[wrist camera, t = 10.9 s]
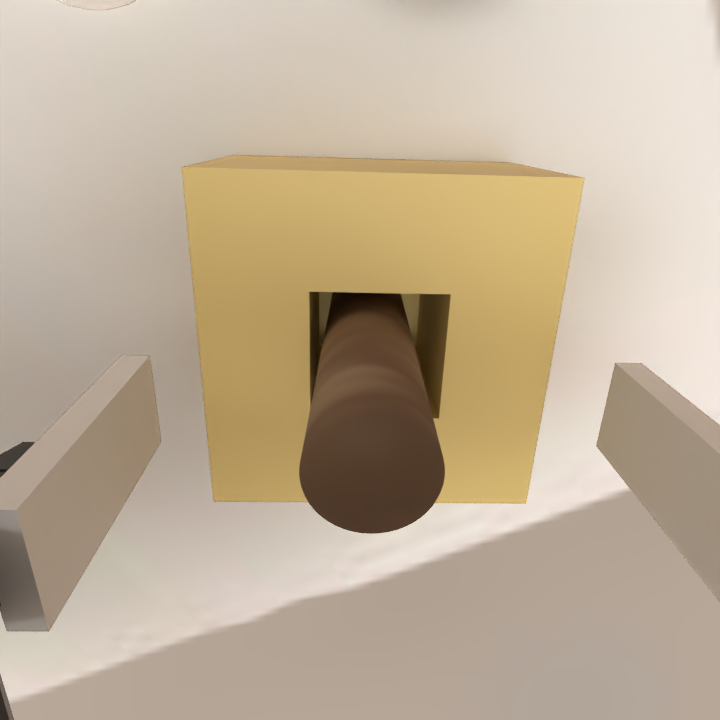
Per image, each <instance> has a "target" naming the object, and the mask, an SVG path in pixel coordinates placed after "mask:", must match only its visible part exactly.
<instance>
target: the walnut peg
mask: <svg viewBox="0 0 720 720" xmlns="http://www.w3.org/2000/svg"><path fill="white" fill-rule="evenodd" d="M299 478H300V484H301V488H302V490H303V493H304V495H305V497H306V499H307V501H308V502H309V504H310V505H311V506H312V507H313V509H314V510H315V511H316V512H317V513H318V514H319V515H320V516H322V517H323V518H324V519H326V520H327V521H329V522H330V523H332V524H334V525H336V526H338V527H341V528H343V529H346V530H350V531H354V532H359V533H384V532H390V531H393V530H397V529H400V528H403V527H405V526H407V525H409V524H411V523H413V522H415V521H416V520H418V519H419V518H421V517H422V516H423V515H424V514H425V513H426V512H427V511H428V510H429V509H430V508H431V507H432V506H433V504H434V503H435V501H436V500H437V498H438V496H439V494H440V492H441V490H442V487H443V484H444V478H445V465H444V458H443V455H442V451H441V447H440V443H439V439H438V435H437V431H436V428H435V424H434V420H433V416H432V412H431V408H430V404H429V401H428V397H427V393H426V389H425V385H424V381H423V377H422V374H421V370H420V366H419V362H418V358H417V354H416V350H415V347H414V343H413V339H412V335H411V331H410V327H409V323H408V320H407V316H406V312H405V308H404V304H403V300H402V296H401V293H352V292H333V293H332V298H331V303H330V309H329V314H328V319H327V324H326V329H325V335H324V340H323V345H322V350H321V355H320V361H319V366H318V371H317V376H316V381H315V387H314V392H313V397H312V402H311V407H310V413H309V418H308V423H307V428H306V433H305V439H304V444H303V449H302V454H301V459H300V465H299Z"/></svg>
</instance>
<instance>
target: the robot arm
mask: <svg viewBox="0 0 720 720" xmlns="http://www.w3.org/2000/svg"><path fill="white" fill-rule="evenodd" d="M160 443H161V436H160V428H159V421H158V413H157V406H156V398H155V391H154V383H153V376H152V369H151V361H150V356H141V355H121V356H120V357H119V359H118V360H117V361H116V362H115V363H114V364H113V365H112V366H111V367H110V368H109V369H108V370H107V371H106V372H105V373H104V374H103V375H102V376H101V377H100V378H99V379H98V380H97V381H96V382H95V383H94V384H93V385H92V386H91V387H90V388H89V389H88V390H87V391H86V392H85V393H84V394H83V395H82V396H81V397H80V398H79V399H78V400H77V401H76V402H75V403H74V404H73V405H72V406H71V407H70V408H69V409H68V410H67V411H66V412H65V413H64V414H63V415H62V416H61V417H60V418H59V419H58V420H57V421H56V422H55V423H54V424H53V425H52V426H51V427H50V428H49V429H48V430H47V431H46V432H45V433H44V434H43V435H42V436H41V437H40V438H39V439H38V440H37V441H36V442H22V443H21V444H19V445H17V446H15V447H13V448H11V449H10V450H8V451H6V452H4V453H2V454H1V455H0V611H1V615H2V618H3V621H4V624H5V627H6V631H49V630H50V629H51V627H52V625H53V624H54V622H55V620H56V619H57V617H58V615H59V613H60V612H61V610H62V608H63V607H64V605H65V603H66V602H67V600H68V598H69V597H70V595H71V593H72V591H73V590H74V588H75V586H76V585H77V583H78V581H79V580H80V578H81V576H82V575H83V573H84V571H85V569H86V568H87V566H88V564H89V563H90V561H91V559H92V558H93V556H94V554H95V553H96V551H97V549H98V547H99V546H100V544H101V542H102V541H103V539H104V537H105V536H106V534H107V532H108V531H109V529H110V527H111V525H112V524H113V522H114V520H115V519H116V517H117V515H118V514H119V512H120V510H121V509H122V507H123V505H124V503H125V502H126V500H127V498H128V497H129V495H130V493H131V492H132V490H133V488H134V487H135V485H136V483H137V481H138V480H139V478H140V476H141V475H142V473H143V471H144V470H145V468H146V466H147V465H148V463H149V461H150V459H151V458H152V456H153V454H154V453H155V451H156V449H157V448H158V446H159V444H160ZM596 446H597V447H598V449H599V450H600V451H601V453H602V454H603V455H604V456H605V458H606V459H607V460H608V461H609V463H610V464H611V465H612V466H613V468H614V469H615V470H616V471H617V473H618V474H619V475H620V477H621V478H622V479H623V480H624V482H625V483H626V484H627V485H628V487H629V488H630V489H631V490H632V492H633V493H634V494H635V496H636V497H637V498H638V499H639V501H640V502H641V503H642V504H643V506H644V507H645V508H646V509H647V511H648V512H649V513H650V514H651V516H652V517H653V518H654V520H655V521H656V522H657V523H658V525H659V526H660V527H661V528H662V530H663V531H664V532H665V533H666V535H667V536H668V537H669V538H670V540H671V541H672V542H673V544H674V545H675V546H676V547H677V549H678V550H679V551H680V552H681V554H682V555H683V556H684V558H685V559H686V560H687V561H688V563H689V564H690V565H691V566H692V568H693V569H694V570H695V571H696V573H697V574H698V575H699V576H700V578H701V579H702V580H703V582H704V583H705V584H706V585H707V587H708V588H709V589H710V590H711V592H712V593H713V594H714V595H715V597H716V598H717V599H718V601H719V602H720V425H719V424H718V423H716V422H715V421H714V420H713V419H711V418H710V417H709V416H708V415H706V414H705V413H704V412H702V411H701V410H700V409H699V408H697V407H696V406H695V405H694V404H692V403H691V402H690V401H689V400H687V399H686V398H685V397H684V396H682V395H681V394H680V393H678V392H677V391H676V390H675V389H673V388H672V387H671V386H670V385H668V384H667V383H666V382H665V381H663V380H662V379H661V378H660V377H658V376H657V375H656V374H654V373H653V372H652V371H651V370H649V369H648V368H647V367H646V366H644V365H643V364H642V363H615V366H614V371H613V375H612V379H611V384H610V388H609V393H608V397H607V401H606V406H605V410H604V414H603V419H602V423H601V427H600V432H599V436H598V440H597V445H596ZM0 720H14V718H13V715H12V711H11V708H10V705H9V701H8V698H7V695H6V692H5V688H4V685H3V682H2V678H1V675H0Z"/></svg>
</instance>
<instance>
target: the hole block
mask: <svg viewBox="0 0 720 720" xmlns="http://www.w3.org/2000/svg"><path fill="white" fill-rule="evenodd" d="M182 175H183V186H184V196H185V207H186V217H187V228H188V238H189V249H190V259H191V270H192V280H193V291H194V301H195V312H196V322H197V332H198V343H199V353H200V364H201V374H202V385H203V395H204V406H205V416H206V427H207V437H208V448H209V458H210V469H211V479H212V490H213V500H214V501H226V502H308V501H307V499H306V497H305V495H304V493H303V490H302V488H301V484H300V478H299V465H300V459H301V454H302V449H303V444H304V439H305V433H306V428H307V423H308V418H309V413H310V407H311V402H312V397H313V392H314V387H315V381H316V376H317V371H318V366H319V361H320V355H321V350H322V345H323V340H324V335H325V329H326V324H327V319H328V314H329V309H330V303H331V298H332V293H333V292H352V293H401V296H402V300H403V304H404V308H405V312H406V316H407V320H408V323H409V327H410V331H411V335H412V339H413V343H414V347H415V350H416V354H417V358H418V362H419V366H420V370H421V374H422V377H423V381H424V385H425V389H426V393H427V397H428V401H429V404H430V408H431V412H432V416H433V420H434V424H435V428H436V431H437V435H438V439H439V443H440V447H441V451H442V455H443V458H444V465H445V478H444V484H443V487H442V490H441V492H440V494H439V496H438V498H437V500H436V501H435V503H511V504H526V501H527V495H528V490H529V484H530V479H531V473H532V467H533V462H534V456H535V451H536V445H537V440H538V434H539V428H540V423H541V417H542V412H543V406H544V401H545V395H546V389H547V384H548V378H549V373H550V367H551V361H552V356H553V350H554V345H555V339H556V334H557V328H558V322H559V317H560V311H561V306H562V300H563V295H564V289H565V283H566V278H567V272H568V267H569V261H570V256H571V250H572V244H573V239H574V233H575V228H576V222H577V217H578V211H579V205H580V200H581V194H582V189H583V183H584V178H582V177H577V176H573V175H568V174H563V173H558V172H553V171H548V170H543V169H538V168H534V167H529V166H524V165H519V164H514V163H502V162H466V161H430V160H394V159H358V158H322V157H286V156H250V155H232V156H227V157H223V158H219V159H214V160H210V161H206V162H201V163H197V164H193V165H188V166H184V167H182Z"/></svg>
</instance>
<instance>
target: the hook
mask: <svg viewBox="0 0 720 720" xmlns="http://www.w3.org/2000/svg"><path fill="white" fill-rule="evenodd" d="M58 1H60V2H63V3H65V4H67V5H70V6H75V7H79V8H84V9H89V10H98V9H113V8H117V7H121V6H124V5H128V4H130V3H132V2H134V1H135V0H58Z"/></svg>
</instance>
